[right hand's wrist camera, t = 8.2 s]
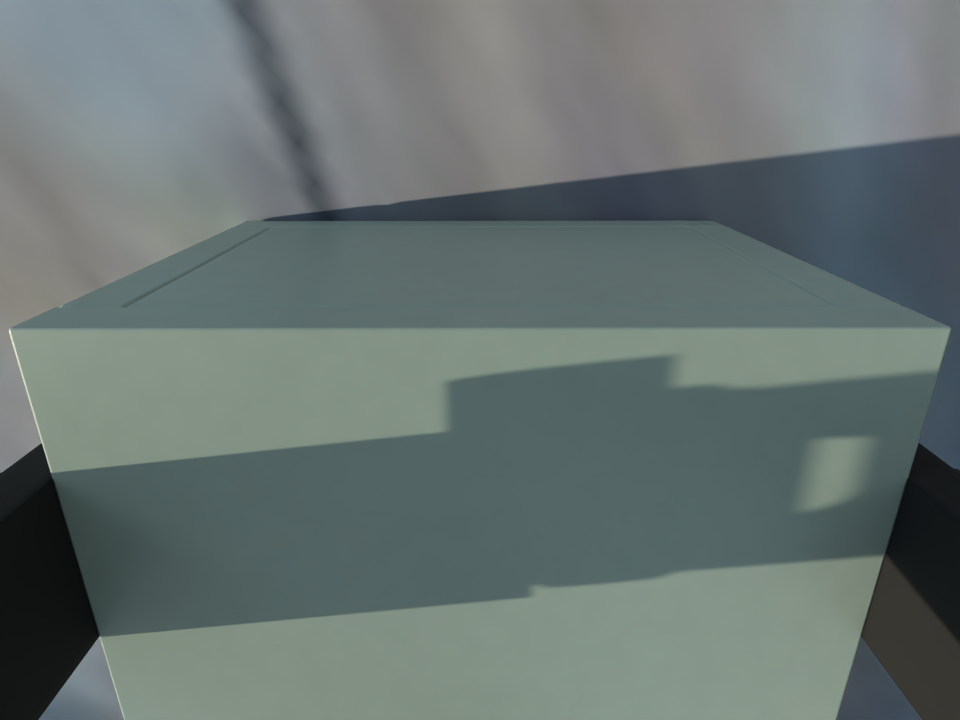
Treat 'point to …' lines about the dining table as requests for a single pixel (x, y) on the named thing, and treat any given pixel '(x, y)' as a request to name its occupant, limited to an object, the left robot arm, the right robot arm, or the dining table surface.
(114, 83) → the dining table surface
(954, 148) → the dining table surface
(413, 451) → the cabinet
